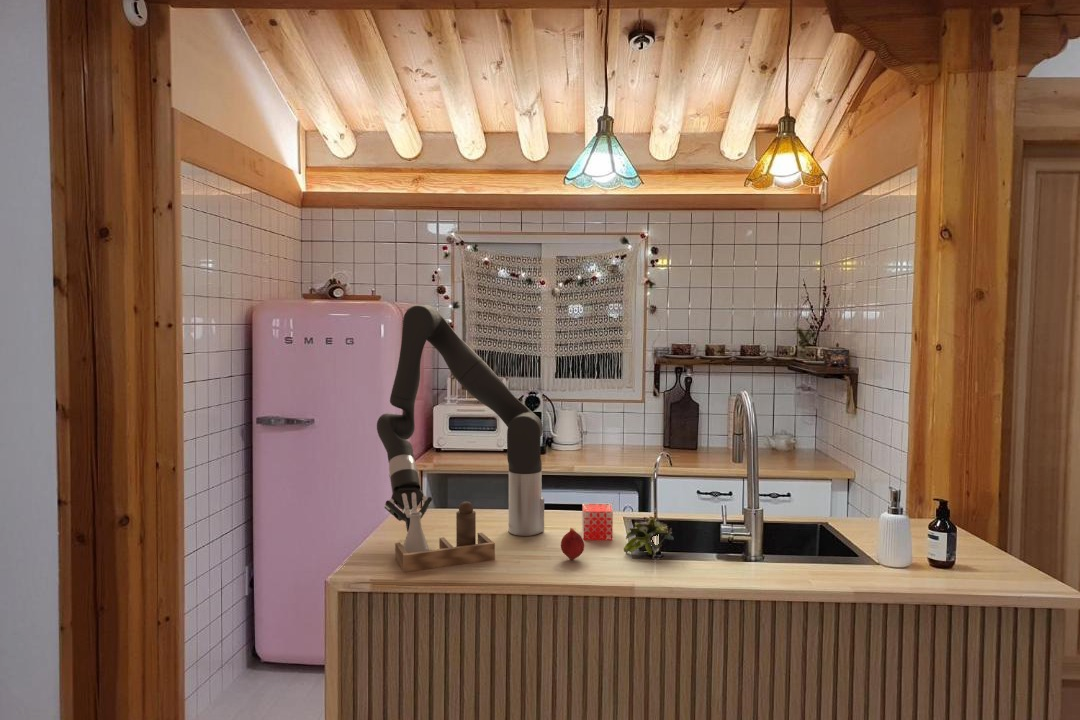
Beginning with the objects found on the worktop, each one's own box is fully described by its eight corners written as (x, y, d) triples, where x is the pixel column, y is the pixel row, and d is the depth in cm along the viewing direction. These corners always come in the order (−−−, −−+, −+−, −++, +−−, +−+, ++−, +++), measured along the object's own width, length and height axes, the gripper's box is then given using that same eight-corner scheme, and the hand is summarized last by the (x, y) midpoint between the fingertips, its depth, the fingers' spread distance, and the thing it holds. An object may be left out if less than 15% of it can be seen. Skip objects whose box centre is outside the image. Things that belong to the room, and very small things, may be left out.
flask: (430, 546, 182) (430, 509, 181) (428, 556, 175) (428, 517, 174) (402, 547, 181) (402, 509, 181) (399, 557, 174) (399, 517, 173)
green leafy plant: (650, 570, 181) (675, 530, 183) (659, 577, 170) (685, 535, 172) (614, 544, 182) (639, 506, 183) (621, 550, 171) (648, 509, 172)
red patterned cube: (612, 540, 188) (612, 511, 188) (583, 540, 189) (583, 511, 188) (610, 531, 196) (610, 503, 196) (582, 531, 197) (582, 503, 196)
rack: (482, 547, 182) (482, 532, 181) (494, 559, 173) (494, 543, 173) (395, 559, 173) (395, 543, 172) (404, 572, 164) (404, 555, 164)
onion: (587, 557, 174) (587, 526, 174) (578, 565, 169) (579, 532, 168) (566, 554, 177) (566, 523, 176) (557, 561, 171) (557, 529, 171)
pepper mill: (472, 551, 179) (472, 498, 178) (478, 557, 174) (478, 502, 173) (454, 553, 177) (453, 500, 176) (459, 559, 172) (459, 504, 172)
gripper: (381, 469, 185) (389, 528, 174) (430, 466, 190) (441, 523, 179) (377, 484, 190) (385, 542, 180) (425, 481, 195) (436, 537, 185)
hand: (413, 532), depth 179 cm, fingers closed
